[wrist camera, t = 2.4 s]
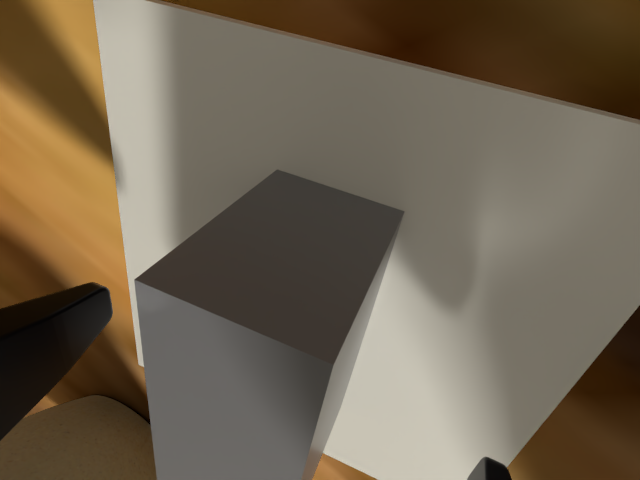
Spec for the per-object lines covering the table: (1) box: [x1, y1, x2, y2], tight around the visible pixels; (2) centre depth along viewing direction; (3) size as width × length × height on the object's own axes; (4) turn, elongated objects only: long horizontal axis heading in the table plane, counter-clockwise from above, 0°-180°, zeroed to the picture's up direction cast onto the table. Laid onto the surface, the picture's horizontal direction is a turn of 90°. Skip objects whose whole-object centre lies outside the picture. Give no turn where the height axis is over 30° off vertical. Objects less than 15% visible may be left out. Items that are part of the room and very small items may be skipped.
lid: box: [93, 0, 640, 480], centre depth 10 cm, size 12×12×6 cm
